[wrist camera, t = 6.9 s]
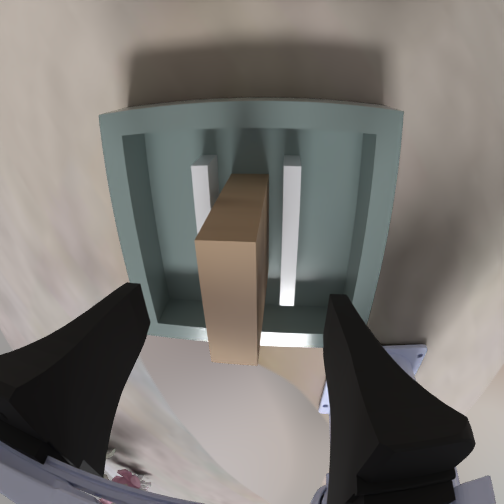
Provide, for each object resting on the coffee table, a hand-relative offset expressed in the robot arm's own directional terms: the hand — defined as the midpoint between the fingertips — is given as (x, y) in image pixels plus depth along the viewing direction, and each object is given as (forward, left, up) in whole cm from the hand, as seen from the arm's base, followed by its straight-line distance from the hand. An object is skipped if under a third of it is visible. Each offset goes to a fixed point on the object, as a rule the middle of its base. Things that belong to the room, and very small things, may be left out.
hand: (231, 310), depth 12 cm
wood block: (0, 0, -7) cm, 7 cm away
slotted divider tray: (0, 0, -8) cm, 8 cm away
